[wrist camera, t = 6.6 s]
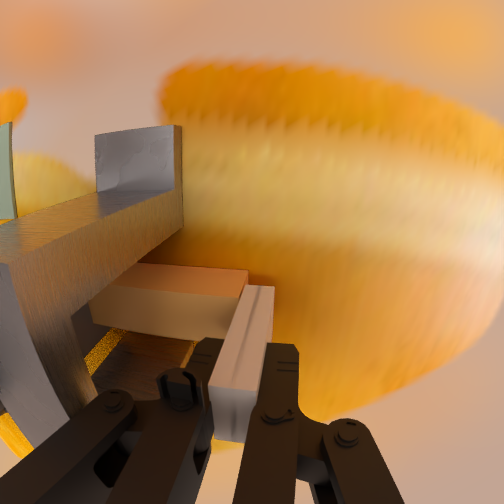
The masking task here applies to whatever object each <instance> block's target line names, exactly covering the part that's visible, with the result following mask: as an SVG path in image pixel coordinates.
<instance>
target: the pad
mask: <svg viewBox="0 0 504 504" xmlns="http://www.w3.org/2000/svg"><path fill="white" fill-rule="evenodd" d="M15 218H17V212H16V204H15V195H14V184H13V169H12V122H8V123H6V124H4V125H1V126H0V219H15Z"/></svg>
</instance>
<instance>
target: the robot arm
mask: <svg viewBox="0 0 504 504" xmlns="http://www.w3.org/2000/svg"><path fill="white" fill-rule="evenodd" d="M274 291H275V286H260V285H245V287H244V290H243V293H242V295H241V298H240V301H239V303H238V306H237V309H236V311H235V314H234V317H233V319H232V322H231V325H230V327H229V330H228V333H227V335H226V338H225V339H218V338H210V337H205V338H204V339H203V340H201V341H200V342H199V343H197V344H196V346H195V348H194V350H193V352H192V355H191V356H190V358H189V362H187V364H186V366H185V368H172V369H167V370H165V371H163V372H162V373H160V374H159V375H158V376H157V377H156V382H157V386H158V390H159V393H160V397H161V398H160V399H157V400H141V401H134V400H133V398H132V396H131V395H130V394H129V393H128V392H127V391H124V390H121V389H111V390H107V391H104V392H102V393H101V394H99V395H98V396H97V397H95V398H94V399H93V400H92V401H91V402H90V403H88V404H87V405H86V406H85V407H84V408H83V409H81V410H80V411H79V412H78V413H77V414H76V415H74V416H73V417H72V418H71V419H70V420H68V421H67V422H66V423H65V424H64V425H63V426H61V427H60V428H59V429H58V430H57V431H56V432H54V433H53V434H52V435H51V436H50V437H48V438H47V439H46V440H45V441H44V442H43V443H41V444H40V445H39V446H38V447H37V448H35V449H34V450H33V451H32V452H31V453H29V454H28V455H27V456H26V457H25V458H23V459H22V460H21V461H20V462H19V463H18V464H17V465H15V466H14V467H13V468H12V469H10V470H9V471H8V472H7V473H6V474H4V475H3V476H2V477H1V478H0V504H195V501H196V498H197V495H198V492H199V489H200V486H201V483H202V480H203V476H204V473H205V470H206V467H207V463H208V461H209V457H210V454H211V439H212V436H213V432H214V437H215V439H218V440H225V441H232V442H239V443H245V445H244V450H243V455H242V460H241V466H240V470H239V474H238V479H237V484H236V489H235V493H234V498H233V502H232V504H294V499H295V484H296V479H299V480H303V481H306V482H309V486H310V489H311V492H312V496H313V500H314V503H315V504H404V501H403V499H402V497H401V495H400V492H399V490H398V488H397V486H396V484H395V482H394V480H393V478H392V476H391V474H390V471H389V469H388V467H387V465H386V463H385V461H384V459H383V457H382V455H381V453H380V451H379V449H378V447H377V445H376V443H375V441H374V439H373V437H372V435H371V433H370V431H369V429H368V428H367V427H366V426H365V425H364V424H363V423H361V422H359V421H358V420H353V419H349V418H346V419H338V420H335V421H333V422H331V423H330V424H329V425H327V424H323V423H320V422H316V421H314V420H311V419H309V418H308V417H306V416H305V415H304V414H303V413H302V412H301V410H300V408H299V406H298V381H299V352H298V350H297V349H296V347H295V346H294V344H283V343H271V340H272V330H273V311H274ZM4 413H8V411H7V410H6V408H5V407H4V405H3V403H2V402H1V400H0V416H1V415H3V414H4Z"/></svg>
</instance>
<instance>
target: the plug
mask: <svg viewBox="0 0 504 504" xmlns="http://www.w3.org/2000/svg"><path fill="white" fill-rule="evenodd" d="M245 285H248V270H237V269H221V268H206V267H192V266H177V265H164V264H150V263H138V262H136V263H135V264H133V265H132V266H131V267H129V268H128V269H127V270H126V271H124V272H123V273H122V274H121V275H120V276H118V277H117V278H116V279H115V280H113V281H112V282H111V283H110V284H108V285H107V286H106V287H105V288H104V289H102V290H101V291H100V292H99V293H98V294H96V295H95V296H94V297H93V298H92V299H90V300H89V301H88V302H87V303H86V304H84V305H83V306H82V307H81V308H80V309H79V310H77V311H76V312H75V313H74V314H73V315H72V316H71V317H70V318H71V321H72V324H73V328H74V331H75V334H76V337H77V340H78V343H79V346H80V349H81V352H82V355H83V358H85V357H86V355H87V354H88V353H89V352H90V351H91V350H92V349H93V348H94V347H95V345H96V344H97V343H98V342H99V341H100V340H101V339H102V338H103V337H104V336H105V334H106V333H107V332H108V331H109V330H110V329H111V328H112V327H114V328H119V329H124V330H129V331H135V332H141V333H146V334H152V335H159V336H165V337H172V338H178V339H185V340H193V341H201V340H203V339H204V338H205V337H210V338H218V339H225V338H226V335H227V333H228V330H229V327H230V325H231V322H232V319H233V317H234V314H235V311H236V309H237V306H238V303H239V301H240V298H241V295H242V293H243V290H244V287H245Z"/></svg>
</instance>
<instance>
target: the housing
mask: <svg viewBox="0 0 504 504" xmlns="http://www.w3.org/2000/svg"><path fill="white" fill-rule="evenodd" d="M95 168H96V186H97V192H96V193H92V194H89V195H86V196H82V197H79V198H76V199H73V200H69V201H66V202H63V203H60V204H57V205H54V206H51V207H48V208H45V209H42V210H39V211H36V212H34V213H31V214H28V215H25V216H23V217H20V218H17V219H15V220H12V221H9V222H7V223H4V224H2V225H0V400H1V402H2V403H3V405H4V407H5V408H6V410H7V411H8V413H9V414H10V416H11V417H12V419H13V420H14V422H15V423H16V425H17V426H18V427H19V429H20V430H21V432H22V433H23V434H24V436H25V437H26V438H27V440H28V441H29V442H30V443H31V445H32V446H33V447H34V449H35V448H37V447H38V446H39V445H40V444H41V443H43V442H44V441H45V440H46V439H47V438H48V437H50V436H51V435H52V434H53V433H54V432H56V431H57V430H58V429H59V428H60V427H61V426H63V425H64V424H65V423H66V422H67V421H68V420H70V419H71V418H72V417H73V416H74V415H76V414H77V413H78V412H79V411H80V410H81V409H83V408H84V407H85V406H86V405H87V404H88V403H90V402H91V401H92V400H93V399H94V398H95V397H97V396H98V395H99V394H101V393H102V392H104V391H107V390H111V389H121V390H124V391H127V392H128V393H129V394H130V395H131V396H132V398H133V400H134V401H141V400H157V399H160V398H161V397H160V393H159V390H158V386H157V382H156V377H157V376H158V375H159V374H160V373H162V372H163V371H165V370H167V369H172V368H185V366H186V364H187V362H189V358H190V356H191V355H192V352H193V350H194V345H193V341H189V340H182V339H175V338H168V337H162V336H155V335H149V334H143V333H137V332H132V331H128V332H127V333H126V334H125V335H124V336H123V338H122V339H121V340H120V341H119V342H118V344H117V345H116V346H115V347H114V349H113V350H112V351H111V352H110V353H109V355H108V356H107V357H106V358H105V360H104V361H103V362H102V363H101V365H100V366H99V367H98V368H97V370H96V371H95V372H94V373H93V375H92V376H90V374H89V371H88V368H87V366H86V363H85V360H84V358H83V355H82V352H81V349H80V346H79V343H78V340H77V337H76V334H75V331H74V328H73V324H72V321H71V318H70V317H71V316H72V315H73V314H74V313H75V312H76V311H77V310H79V309H80V308H81V307H82V306H83V305H84V304H86V303H87V302H88V301H89V300H90V299H92V298H93V297H94V296H95V295H96V294H98V293H99V292H100V291H101V290H102V289H104V288H105V287H106V286H107V285H108V284H110V283H111V282H112V281H113V280H115V279H116V278H117V277H118V276H120V275H121V274H122V273H123V272H124V271H126V270H127V269H128V268H129V267H131V266H132V265H133V264H135V263H136V262H137V261H138V260H140V259H141V258H142V257H143V256H145V255H146V254H147V253H149V252H150V251H151V250H153V249H154V248H155V247H156V246H158V245H159V244H160V243H162V242H163V241H164V240H166V239H167V238H168V237H170V236H171V235H172V234H174V233H175V232H176V231H178V230H179V229H180V228H182V227H183V204H182V170H181V126H177V125H167V126H157V127H147V128H139V129H131V130H125V131H118V132H111V133H105V134H99V135H95Z"/></svg>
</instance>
